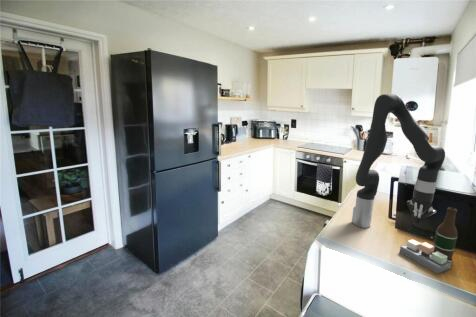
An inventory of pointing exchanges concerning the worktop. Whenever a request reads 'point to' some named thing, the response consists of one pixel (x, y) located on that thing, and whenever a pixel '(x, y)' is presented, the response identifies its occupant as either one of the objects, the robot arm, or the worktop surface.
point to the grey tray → (425, 259)
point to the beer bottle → (446, 234)
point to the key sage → (439, 257)
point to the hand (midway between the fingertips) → (417, 223)
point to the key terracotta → (426, 248)
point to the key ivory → (413, 245)
